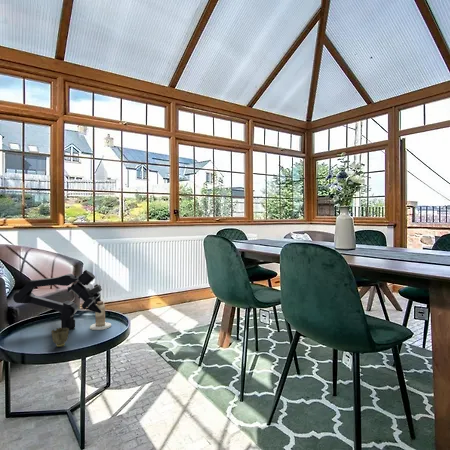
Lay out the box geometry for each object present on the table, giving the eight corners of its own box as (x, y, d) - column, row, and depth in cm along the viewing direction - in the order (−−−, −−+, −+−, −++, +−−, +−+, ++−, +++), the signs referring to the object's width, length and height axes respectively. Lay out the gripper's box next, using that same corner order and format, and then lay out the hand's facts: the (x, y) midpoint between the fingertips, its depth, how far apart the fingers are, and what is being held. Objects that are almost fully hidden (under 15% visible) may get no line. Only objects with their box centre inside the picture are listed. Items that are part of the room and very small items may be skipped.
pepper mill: (102, 326, 182) (101, 303, 182) (93, 326, 183) (93, 302, 183) (106, 324, 187) (106, 300, 187) (98, 323, 188) (98, 300, 188)
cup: (63, 342, 161) (62, 326, 161) (72, 345, 158) (72, 328, 158) (48, 347, 155) (47, 330, 155) (57, 350, 151) (57, 332, 151)
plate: (92, 331, 177) (91, 329, 177) (88, 326, 187) (88, 324, 187) (113, 327, 183) (113, 325, 183) (108, 322, 192) (108, 321, 192)
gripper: (87, 283, 175) (109, 303, 177) (96, 277, 193) (116, 295, 195) (72, 299, 174) (94, 319, 176) (82, 292, 192) (102, 310, 194)
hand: (102, 310), depth 185 cm, fingers open, 9 cm apart
